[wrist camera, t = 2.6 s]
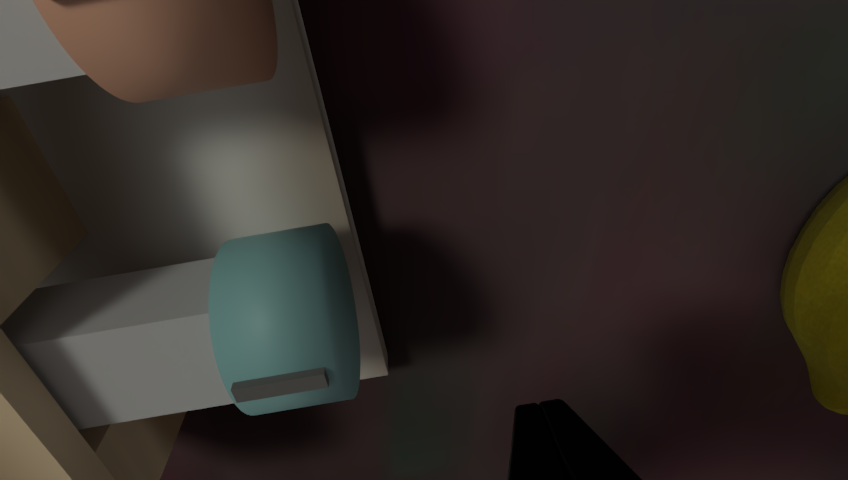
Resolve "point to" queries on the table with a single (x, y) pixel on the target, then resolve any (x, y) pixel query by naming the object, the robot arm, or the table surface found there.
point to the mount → (153, 222)
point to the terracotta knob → (139, 44)
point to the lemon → (821, 298)
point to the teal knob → (199, 333)
